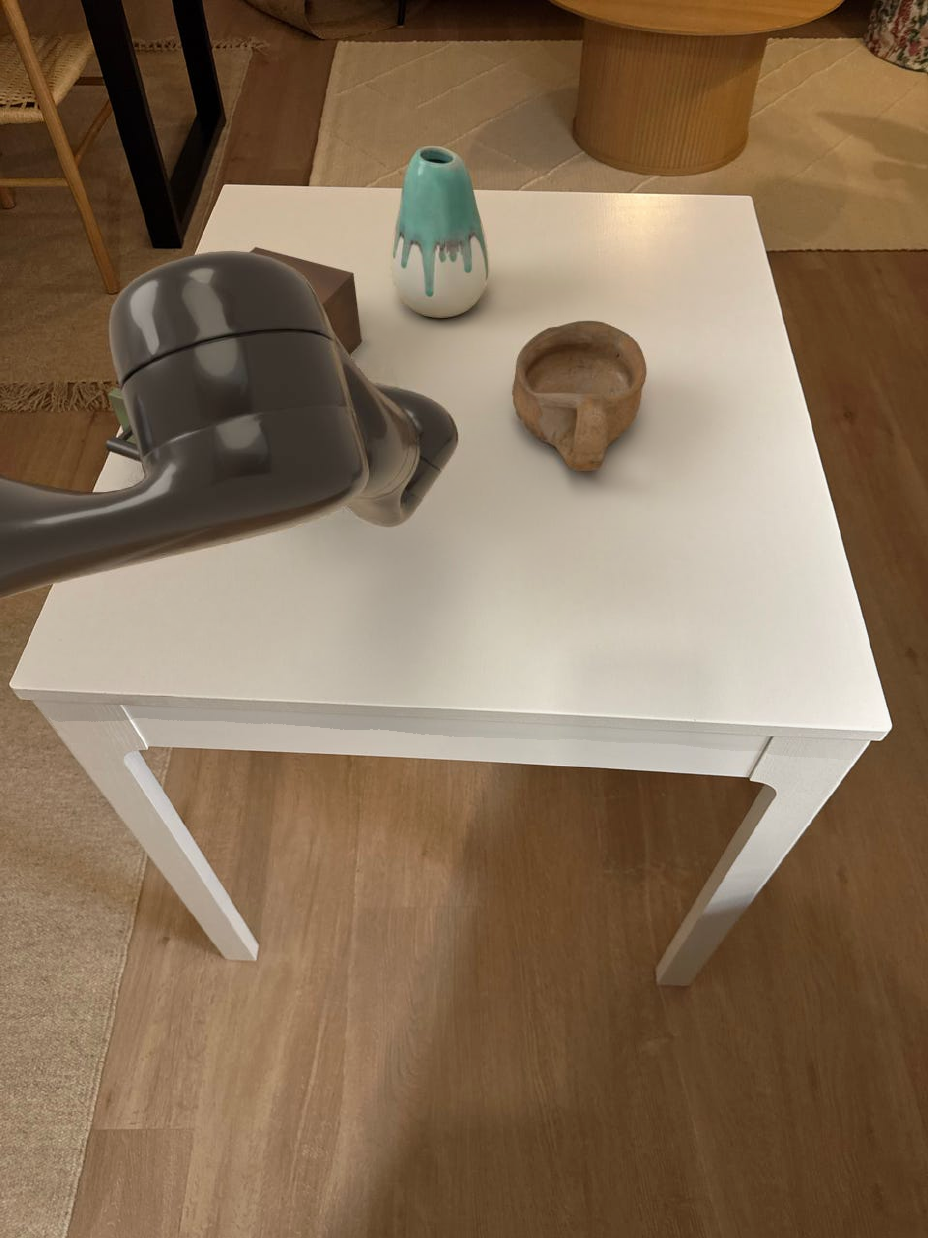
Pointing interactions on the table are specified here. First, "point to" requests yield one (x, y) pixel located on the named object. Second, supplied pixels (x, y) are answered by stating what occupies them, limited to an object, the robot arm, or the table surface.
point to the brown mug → (579, 388)
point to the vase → (439, 237)
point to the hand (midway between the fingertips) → (161, 288)
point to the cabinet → (329, 295)
